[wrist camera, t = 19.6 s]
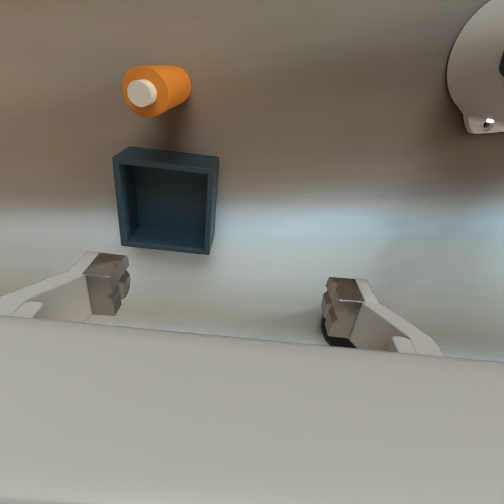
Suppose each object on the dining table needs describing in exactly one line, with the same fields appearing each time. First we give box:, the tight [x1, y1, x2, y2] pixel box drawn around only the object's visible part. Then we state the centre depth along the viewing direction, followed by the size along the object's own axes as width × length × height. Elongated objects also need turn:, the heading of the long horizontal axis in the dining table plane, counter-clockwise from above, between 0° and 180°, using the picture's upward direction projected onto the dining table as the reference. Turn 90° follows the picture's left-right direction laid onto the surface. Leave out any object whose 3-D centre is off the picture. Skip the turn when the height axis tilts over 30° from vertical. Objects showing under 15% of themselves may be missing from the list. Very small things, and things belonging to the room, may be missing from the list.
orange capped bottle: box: [122, 65, 191, 117], centre depth 38 cm, size 5×5×15 cm
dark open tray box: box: [112, 146, 219, 255], centre depth 50 cm, size 14×14×7 cm
